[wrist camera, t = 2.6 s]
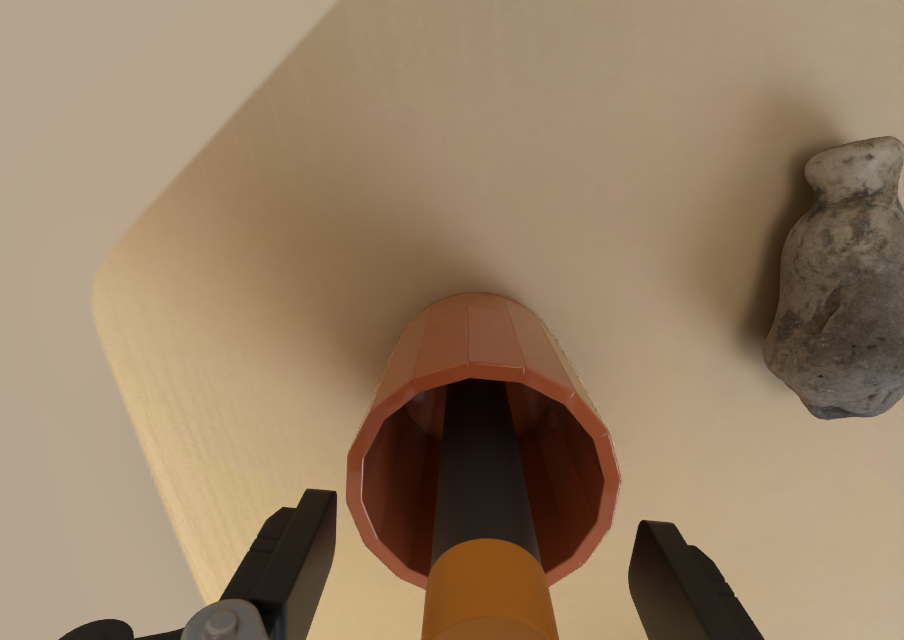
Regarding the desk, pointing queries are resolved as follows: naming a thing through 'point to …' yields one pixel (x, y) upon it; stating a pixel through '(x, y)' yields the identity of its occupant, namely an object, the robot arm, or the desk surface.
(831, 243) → the stone
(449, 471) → the marker
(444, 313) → the pen cup
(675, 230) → the desk surface
